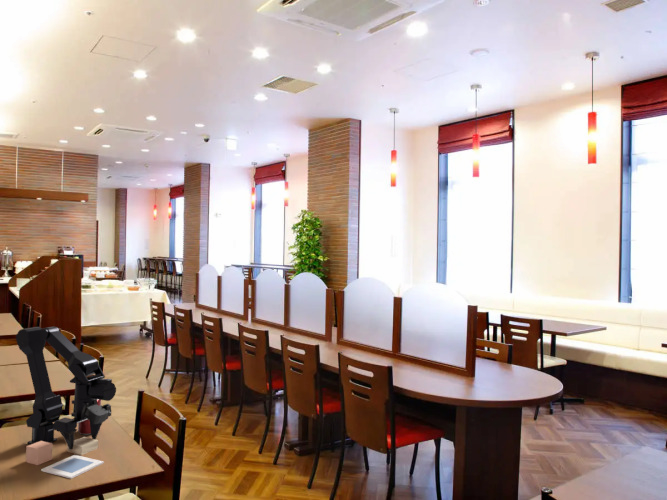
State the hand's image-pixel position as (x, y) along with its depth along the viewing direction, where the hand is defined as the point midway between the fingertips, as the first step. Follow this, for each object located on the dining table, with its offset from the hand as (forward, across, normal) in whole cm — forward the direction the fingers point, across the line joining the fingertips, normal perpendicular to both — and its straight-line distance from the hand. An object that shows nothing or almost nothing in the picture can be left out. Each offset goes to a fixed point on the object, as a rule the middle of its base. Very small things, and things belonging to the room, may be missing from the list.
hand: (82, 444), depth 168 cm
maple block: (+2, 0, 0) cm, 2 cm away
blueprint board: (+2, -11, -8) cm, 14 cm away
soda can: (+2, +13, +11) cm, 17 cm away
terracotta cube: (+2, -12, +5) cm, 13 cm away
